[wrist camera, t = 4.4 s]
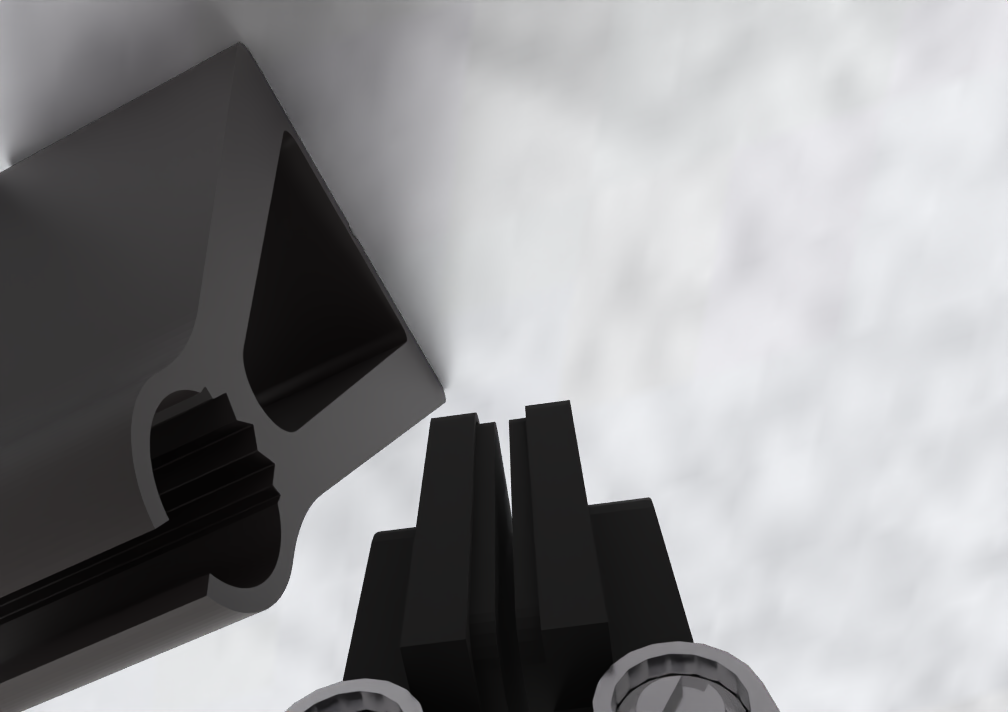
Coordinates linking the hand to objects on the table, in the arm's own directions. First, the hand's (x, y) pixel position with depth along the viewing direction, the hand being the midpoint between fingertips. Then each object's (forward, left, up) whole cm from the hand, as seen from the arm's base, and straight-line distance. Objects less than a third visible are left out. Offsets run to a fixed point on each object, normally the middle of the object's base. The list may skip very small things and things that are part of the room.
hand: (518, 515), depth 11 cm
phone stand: (+6, 0, -11) cm, 12 cm away
